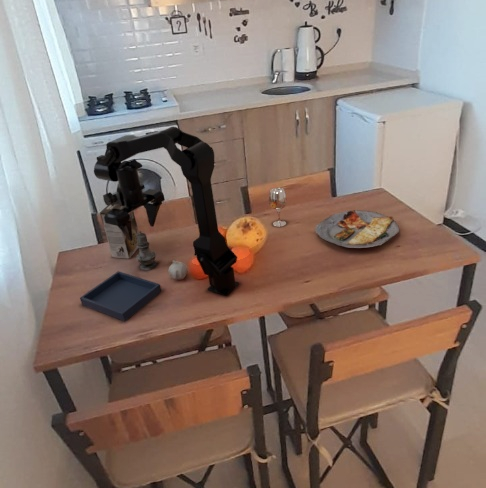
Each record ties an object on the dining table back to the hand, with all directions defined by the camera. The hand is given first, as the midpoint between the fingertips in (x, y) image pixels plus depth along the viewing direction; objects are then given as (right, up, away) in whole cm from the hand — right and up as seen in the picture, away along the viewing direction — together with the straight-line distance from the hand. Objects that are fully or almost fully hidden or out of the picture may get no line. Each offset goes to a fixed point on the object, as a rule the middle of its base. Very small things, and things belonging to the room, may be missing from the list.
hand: (141, 233), depth 136 cm
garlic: (+11, -13, -1) cm, 17 cm away
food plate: (+65, 0, +10) cm, 66 cm away
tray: (-4, -18, -8) cm, 20 cm away
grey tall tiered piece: (+1, -10, +6) cm, 12 cm away
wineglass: (+42, +4, +21) cm, 47 cm away
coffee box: (-8, -5, +16) cm, 18 cm away
